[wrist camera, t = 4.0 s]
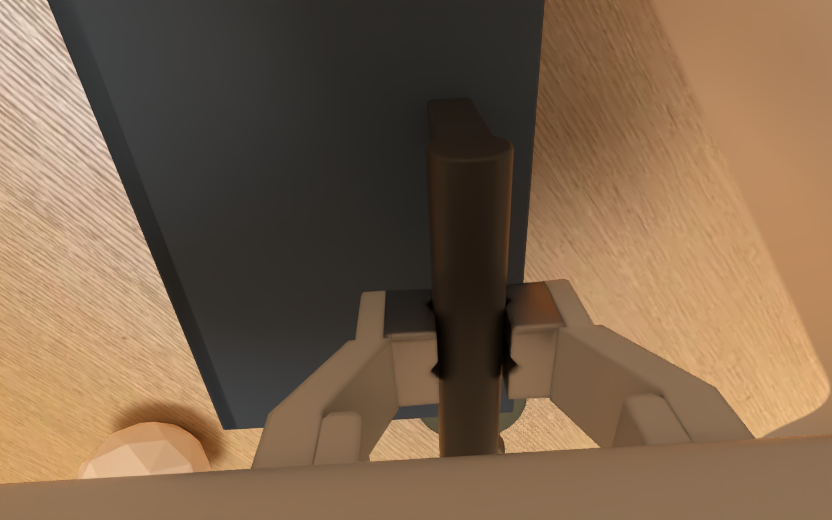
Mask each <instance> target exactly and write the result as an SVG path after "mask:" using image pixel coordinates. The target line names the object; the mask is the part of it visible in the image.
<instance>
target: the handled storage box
mask: <svg viewBox="0 0 832 520" xmlns="http://www.w3.org/2000/svg"><path fill="white" fill-rule="evenodd" d="M47 1H48V3H49V6H50V8H51V10H52V13H53V15H54V18H55V20H56V23H57V25H58V27H59V30H60V32H61V35H62V37H63V40H64V42H65V45H66V47H67V49H68V52H69V54H70V57H71V59H72V62H73V64H74V66H75V69H76V71H77V74H78V76H79V79H80V81H81V84H82V86H83V88H84V91H85V93H86V96H87V98H88V101H89V103H90V105H91V108H92V110H93V113H94V115H95V118H96V120H97V123H98V125H99V127H100V130H101V132H102V135H103V137H104V140H105V142H106V144H107V147H108V149H109V152H110V154H111V157H112V159H113V162H114V164H115V166H116V169H117V171H118V174H119V176H120V179H121V181H122V184H123V186H124V188H125V191H126V193H127V196H128V198H129V201H130V203H131V205H132V208H133V210H134V213H135V215H136V218H137V220H138V223H139V225H140V227H141V230H142V232H143V235H144V237H145V240H146V242H147V244H148V247H149V249H150V252H151V254H152V257H153V259H154V262H155V264H156V266H157V269H158V271H159V274H160V276H161V279H162V281H163V283H164V286H165V288H166V291H167V293H168V296H169V298H170V301H171V303H172V305H173V308H174V310H175V313H176V315H177V318H178V320H179V322H180V325H181V327H182V330H183V332H184V335H185V337H186V340H187V342H188V344H189V347H190V349H191V352H192V354H193V357H194V359H195V361H196V364H197V366H198V369H199V371H200V374H201V376H202V379H203V381H204V383H205V386H206V388H207V391H208V393H209V396H210V398H211V400H212V403H213V405H214V408H215V410H216V413H217V415H218V418H219V420H220V422H221V425H222V427H223V429H224V430H232V429H248V428H264V426H265V423H266V420H267V417H268V414H269V413H270V412H271V411H272V410H273V409H274V408H276V407H277V406H278V405H279V404H280V403H281V402H282V401H283V400H284V399H285V398H286V397H287V396H289V395H290V394H291V393H292V392H293V391H294V390H295V389H296V388H297V387H298V386H299V385H301V384H302V383H303V382H304V381H305V380H306V379H307V378H308V377H309V376H310V375H311V374H313V373H314V372H315V371H316V370H317V369H318V368H319V367H320V366H321V365H322V364H323V363H325V362H326V361H327V360H328V359H329V358H330V357H331V356H332V355H333V354H334V353H335V352H337V351H338V350H339V349H340V348H341V347H342V346H343V345H344V344H345V343H346V342H347V341H350V340H355V337H356V330H357V323H358V315H359V308H360V300H361V295H362V293H363V292H370V291H388V290H411V289H432V303H433V311H434V314H435V326H436V339H437V356H438V362H437V366H438V378H439V403H436V404H424V405H413V406H402V407H399V410H398V411H397V413H396V414H395V416H394V417H393V419H392V420H397V419H414V418H431V417H438V427H439V448H440V458H441V457H457V456H474V455H490V454H498V437H499V418H500V413H512V412H513V411H514V399H508V396H507V392H506V388H505V385H504V381H503V377H502V361H503V342H504V323H505V304H506V286H507V284H518V283H523V280H524V267H525V253H526V240H527V227H528V214H529V200H530V187H531V174H532V161H533V147H534V134H535V121H536V108H537V94H538V81H539V68H540V55H541V41H542V28H543V15H544V2H545V0H47Z"/></svg>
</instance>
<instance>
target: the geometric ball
mask: <svg viewBox="0 0 832 520" xmlns="http://www.w3.org/2000/svg"><path fill="white" fill-rule="evenodd" d="M209 464H210V463H209V461H208V459H207V457H206V454H205V452H204V450H203V448H202V445H201V443H200V442H199V441H198V440H197V439H196V438H195V437H194V436H193V435H192V434H190V433H189V432H187V431H185V430H184V429H182V428H180V427H179V426H177V425H175V424H168V423H160V422H144V423H138V424H136V425H133V426H130V427H127V428H125V429H122V430H119V431H116V432H114V433H112V434H111V435H110V436H109V437H108V438H107V439H106V440H105V441H104V442H103V443H102V444H101V445H100V446H99V447H98V448H97V449H96V450H95V451H94V452H93V453H92V454H91V455H90V456H89V457H88V458H87V459H86V460H85V461H84V462H83V463H82V464H81V465H80V469H79V473H78V477H77V479H91V478H108V477H125V476H142V475H158V474H175V473H192V472H208V471H209Z"/></svg>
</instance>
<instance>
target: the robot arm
mask: <svg viewBox="0 0 832 520" xmlns="http://www.w3.org/2000/svg"><path fill="white" fill-rule="evenodd" d="M437 362H438V356H437V339H436V326H435V314H434V311H433V303H432V289H411V290H388V291H370V292H363V293H362V295H361V300H360V308H359V315H358V323H357V330H356V337H355V340H350V341H347V342H346V343H345V344H344V345H343V346H342V347H341V348H340V349H339V350H338V351H337V352H335V353H334V354H333V355H332V356H331V357H330V358H329V359H328V360H327V361H326V362H325V363H323V364H322V365H321V366H320V367H319V368H318V369H317V370H316V371H315V372H314V373H313V374H311V375H310V376H309V377H308V378H307V379H306V380H305V381H304V382H303V383H302V384H301V385H299V386H298V387H297V388H296V389H295V390H294V391H293V392H292V393H291V394H290V395H289V396H287V397H286V398H285V399H284V400H283V401H282V402H281V403H280V404H279V405H278V406H277V407H276V408H274V409H273V410H272V411H271V412H270V413H269V414H268V417H267V420H266V423H265V426H264V429H263V432H262V435H261V439H260V442H259V445H258V448H257V451H256V454H255V457H254V461H253V464H252V467H251V469H241V470H225V471H208V472H192V473H175V474H158V475H142V476H125V477H108V478H91V479H74V480H57V481H41V482H24V483H7V484H0V520H832V434H823V435H807V436H791V437H775V438H759V439H756V438H755V437H754V436H753V435H752V433H751V432H750V431H749V430H748V428H747V427H746V426H745V424H744V423H743V422H742V421H741V419H740V418H739V417H738V415H737V414H736V413H735V412H734V410H733V409H732V408H731V406H730V405H729V404H728V403H727V401H726V400H725V399H724V397H723V396H722V395H721V394H720V392H719V391H718V390H717V389H716V387H714V386H712V385H710V384H708V383H706V382H705V381H703V380H701V379H699V378H697V377H696V376H694V375H692V374H690V373H688V372H686V371H685V370H683V369H681V368H679V367H677V366H676V365H674V364H672V363H670V362H668V361H666V360H665V359H663V358H661V357H659V356H657V355H656V354H654V353H652V352H650V351H648V350H646V349H645V348H643V347H641V346H639V345H637V344H636V343H634V342H632V341H630V340H628V339H626V338H625V337H623V336H621V335H619V334H617V333H616V332H614V331H612V330H610V329H608V328H606V327H605V326H603V325H594V323H593V322H592V320H591V318H590V316H589V315H588V313H587V311H586V309H585V308H584V306H583V304H582V303H581V301H580V299H579V297H578V296H577V294H576V292H575V291H574V289H573V287H572V285H571V284H570V282H569V281H568V280H566V279H559V280H549V281H542V282H531V283H518V284H507V286H506V304H505V323H504V342H503V361H502V377H503V381H504V385H505V388H506V392H507V396H508V399H524V398H550V400H551V401H552V402H553V403H554V404H555V405H556V406H557V407H558V408H559V409H560V410H561V411H563V412H564V413H565V414H566V415H567V416H568V417H569V418H570V419H571V420H572V421H573V422H574V423H575V424H576V425H577V426H578V427H580V428H581V429H582V430H583V431H584V432H585V433H586V434H587V435H588V436H589V437H590V438H591V439H592V440H593V441H594V442H595V443H596V444H598V445H599V446H600V447H601V448H589V449H572V450H556V451H539V452H523V453H507V454H490V455H474V456H457V457H441V458H424V459H408V460H391V461H375V462H370V459H369V454H370V453H371V451H372V450H373V448H374V447H375V445H376V443H377V442H378V440H379V439H380V437H381V436H382V434H383V433H384V431H385V430H386V428H387V427H388V425H389V423H390V422H391V420H392V419H393V417H394V416H395V414H396V413H397V411H398V410H399V407H402V406H413V405H424V404H436V403H439V378H438V366H437Z"/></svg>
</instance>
